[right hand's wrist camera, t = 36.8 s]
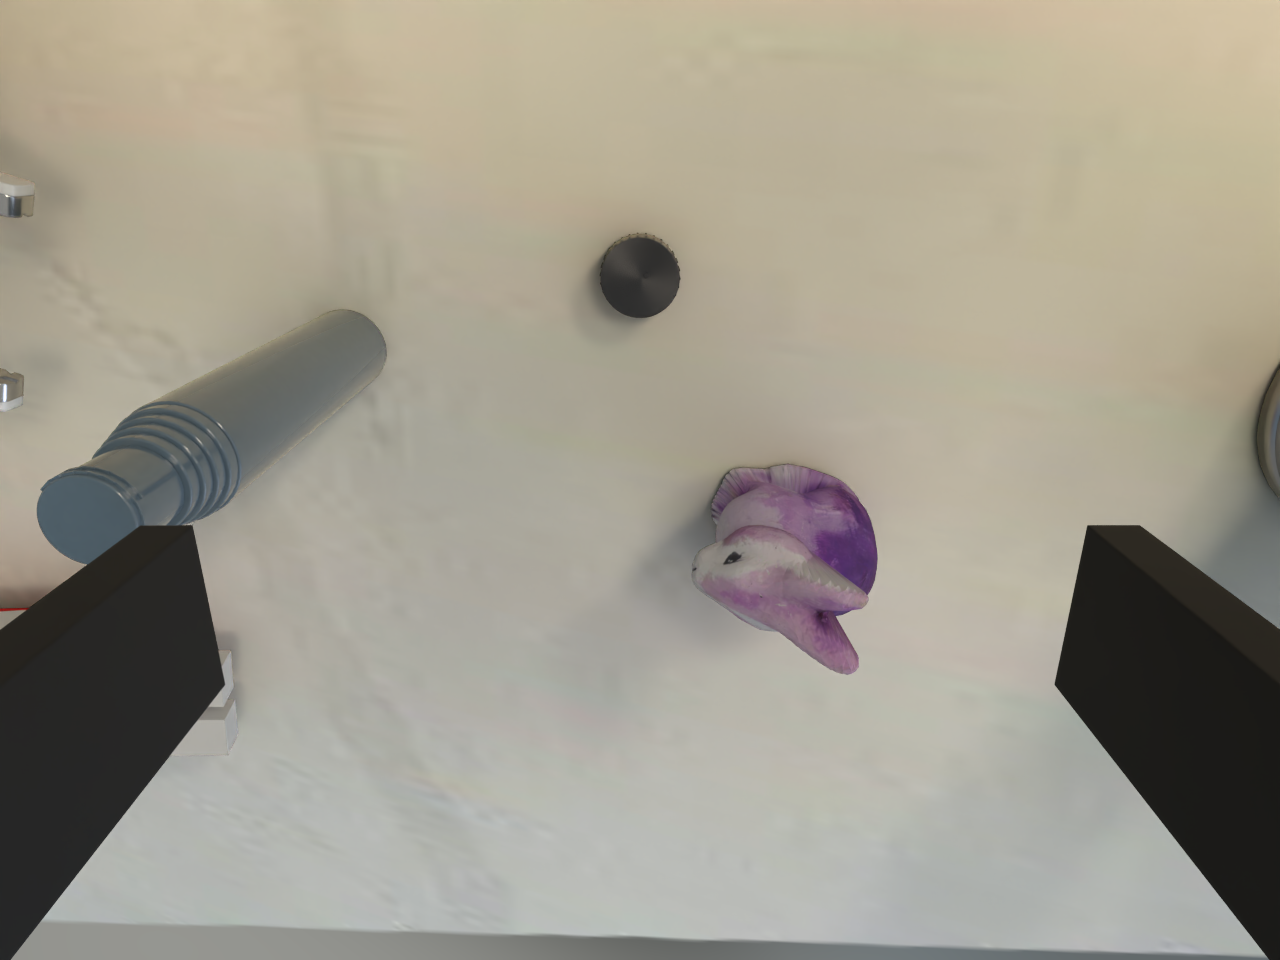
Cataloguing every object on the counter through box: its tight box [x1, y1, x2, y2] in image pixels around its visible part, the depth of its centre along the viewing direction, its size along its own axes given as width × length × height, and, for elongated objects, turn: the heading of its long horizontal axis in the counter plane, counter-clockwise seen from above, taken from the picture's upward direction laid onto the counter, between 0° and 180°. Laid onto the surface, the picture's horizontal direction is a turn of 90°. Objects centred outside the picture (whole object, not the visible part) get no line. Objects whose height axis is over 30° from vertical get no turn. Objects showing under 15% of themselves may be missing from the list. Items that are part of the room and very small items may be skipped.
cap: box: [600, 233, 680, 318], centre depth 47 cm, size 4×4×2 cm
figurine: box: [692, 464, 877, 675], centre depth 46 cm, size 9×10×15 cm
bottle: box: [37, 310, 386, 565], centre depth 38 cm, size 5×5×25 cm
